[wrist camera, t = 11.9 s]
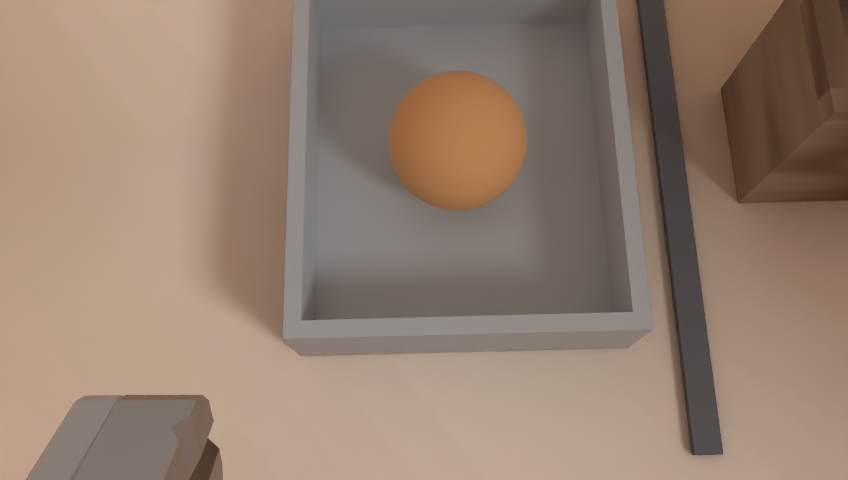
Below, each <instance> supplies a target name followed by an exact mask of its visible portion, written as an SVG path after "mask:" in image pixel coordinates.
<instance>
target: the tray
mask: <svg viewBox="0 0 848 480" xmlns="http://www.w3.org/2000/svg"><path fill="white" fill-rule="evenodd" d="M448 71H467V72H473V73H477V74H480V75H483V76H485V77H487V78H489V79H491V80H493V81H495V82H496V83H498V84H499V85H500V86H502V87H503V88H504V89H505V90H506V91H507V92H508V93H509V94H510V95H511V97H512V98H513V99H514V101H515V102H516V104H517V105H518V107H519V109H520V111H521V113H522V116H523V119H524V123H525V126H526V133H527V147H526V154H525V157H524V161H523V164H522V167H521V169H520V171H519V173H518V175H517V177H516V178H515V180H514V181H513V182H512V184H511V185H510V186H509V187H508V188H507V190H505V191H504V192H503V193H502V194H501V195H500V196H498V197H497V198H495V199H494V200H492V201H490V202H489V203H487V204H484V205H482V206H479V207H476V208H471V209H465V210H449V209H443V208H439V207H436V206H433V205H430V204H428V203H426V202H424V201H422V200H421V199H419V198H418V197H416V196H415V195H414V194H413V193H412V192H411V191H410V190H409V189H408V188H407V187H406V186H405V185H404V184H403V183H402V181H401V180H400V179H399V177H398V175H397V173H396V171H395V169H394V166H393V164H392V161H391V157H390V153H389V141H388V140H389V130H390V125H391V121H392V118H393V115H394V112H395V110H396V109H397V107H398V105H399V103H400V102H401V100H402V99H403V97H404V96H405V95H406V94H407V93H408V92H409V91H410V90H411V89H412V88H413V87H414V86H416V85H417V84H418V83H420V82H422V81H423V80H425V79H427V78H429V77H431V76H433V75H436V74H439V73H443V72H448ZM652 330H653V323H652V314H651V305H650V296H649V287H648V278H647V269H646V260H645V251H644V242H643V233H642V225H641V216H640V207H639V198H638V189H637V180H636V171H635V162H634V153H633V144H632V135H631V126H630V117H629V108H628V99H627V90H626V81H625V72H624V63H623V54H622V45H621V36H620V27H619V18H618V9H617V0H294V1H293V32H292V62H291V93H290V123H289V154H288V184H287V215H286V245H285V276H284V306H283V337H282V339H283V340H284V341H285V342H286V343H288V344H289V345H290V346H291V347H292V348H293V349H294V350H295V351H296V352H297V353H298V354H300V355H301V356H315V355H355V354H395V353H435V352H475V351H515V350H555V349H595V348H628V347H629V346H631V345H632V344H634V343H635V342H636V341H638V340H639V339H641V338H642V337H643V336H645V335H646V334H648V333H649V332H650V331H652Z"/></svg>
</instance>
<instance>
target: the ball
mask: <svg viewBox="0 0 848 480" xmlns="http://www.w3.org/2000/svg"><path fill="white" fill-rule="evenodd" d="M388 141H389V153H390V157H391V161H392V164H393V166H394V169H395V171H396V173H397V175H398V177H399V179H400V180H401V181H402V183H403V184H404V185H405V186H406V187H407V188H408V189H409V190H410V191H411V192H412V193H413V194H414V195H415V196H416V197H418V198H419V199H421V200H422V201H424V202H426V203H428V204H430V205H433V206H436V207H439V208H443V209H449V210H465V209H471V208H476V207H479V206H482V205H484V204H487V203H489V202H490V201H492V200H494V199H495V198H497V197H498V196H500V195H501V194H502V193H503V192H504V191H505V190H507V188H508V187H509V186H510V185H511V184H512V182H513V181H514V180H515V178H516V177H517V175H518V173H519V171H520V169H521V167H522V164H523V161H524V157H525V154H526V147H527V133H526V126H525V123H524V119H523V116H522V113H521V111H520V109H519V107H518V105H517V104H516V102H515V101H514V99H513V98H512V97H511V95H510V94H509V93H508V92H507V91H506V90H505V89H504V88H503V87H502V86H500V85H499V84H498V83H496V82H495V81H493V80H491V79H489V78H487V77H485V76H483V75H480V74H477V73H473V72H467V71H448V72H443V73H439V74H436V75H433V76H431V77H429V78H427V79H425V80H423V81H422V82H420V83H418V84H417V85H416V86H414V87H413V88H412V89H411V90H410V91H409V92H408V93H407V94H406V95H405V96H404V97H403V99H402V100H401V102H400V103H399V105H398V107H397V109H396V110H395V112H394V115H393V118H392V121H391V125H390V130H389V140H388Z"/></svg>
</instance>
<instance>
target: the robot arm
mask: <svg viewBox="0 0 848 480" xmlns="http://www.w3.org/2000/svg"><path fill="white" fill-rule="evenodd" d="M213 421H214V420H213V416H212V412H211V408H210V404H209V400H208V399H207V398H206V397H204V396H203V395H124V396H120V395H103V396H84V397H82V398H80V399H78V400H77V401H76V402H75V403H74V404H73V406H72V407H71V409H70V410H69V412H68V413H67V415H66V417H65V418H64V420H63V421H62V423H61V425H60V426H59V428H58V429H57V431H56V432H55V434H54V436H53V437H52V439H51V440H50V442H49V444H48V445H47V447H46V448H45V450H44V452H43V453H42V455H41V456H40V458H39V459H38V461H37V463H36V464H35V466H34V467H33V469H32V471H31V472H30V474H29V475H28V477H27V478H26V480H223V471H222V460H221V455H220V450H219V448H218V447H217V446H216V445H215V444H214V443H213V442H211V441H210V440H209V439H208V435H209V433H210V430H211V427H212V424H213Z"/></svg>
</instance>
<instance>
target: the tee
mask: <svg viewBox="0 0 848 480" xmlns="http://www.w3.org/2000/svg"><path fill="white" fill-rule="evenodd" d="M721 92H722V98H723V105H724V111H725V118H726V124H727V131H728V138H729V144H730V151H731V157H732V164H733V170H734V177H735V184H736V190H737V197H738V203H750V202H787V201H824V200H848V0H784V2H783V3H782V4H781V6H780V7H779V9H778V10H777V11H776V13H775V14H774V16H773V17H772V18H771V20H770V21H769V23H768V24H767V25H766V27H765V28H764V30H763V31H762V32H761V34H760V35H759V37H758V38H757V39H756V41H755V42H754V44H753V45H752V46H751V48H750V49H749V51H748V52H747V53H746V55H745V56H744V58H743V59H742V60H741V62H740V63H739V65H738V66H737V67H736V69H735V70H734V72H733V73H732V74H731V76H730V77H729V79H728V80H727V81H726V83H725V84H724V86H723V87H722V88H721Z"/></svg>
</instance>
